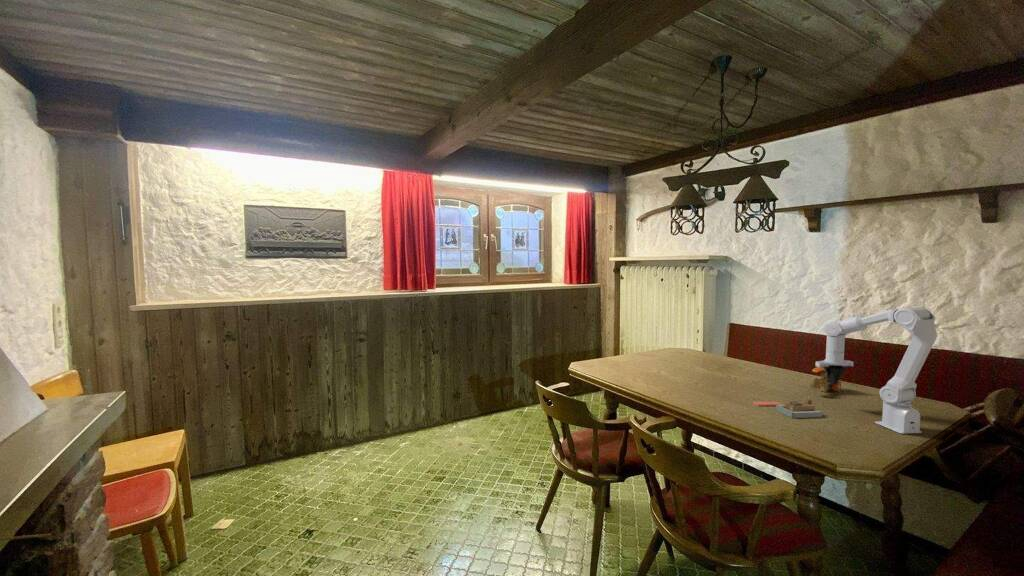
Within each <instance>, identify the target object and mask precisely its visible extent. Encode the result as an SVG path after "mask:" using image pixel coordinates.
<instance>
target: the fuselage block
mask: <svg viewBox="0 0 1024 576" xmlns="http://www.w3.org/2000/svg"><path fill="white" fill-rule="evenodd" d="M784 405H785V408H786V409H788V410H790V411H792V412H800V411H816V410H815V409H816V408H815V407H816V406H815V405H814V404H812V399H806V401H789V402H785V403H784Z"/></svg>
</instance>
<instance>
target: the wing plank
mask: <svg viewBox="0 0 1024 576" xmlns="http://www.w3.org/2000/svg"><path fill="white" fill-rule="evenodd" d="M752 403H753V405H755V404H756V405H755V406H757V407H776V405H783V404H782V403H781V402H778V401H752Z"/></svg>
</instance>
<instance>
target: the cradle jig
mask: <svg viewBox="0 0 1024 576" xmlns="http://www.w3.org/2000/svg"><path fill="white" fill-rule="evenodd" d="M775 410H776V411H778V412H779V413H781V414H783V415H785V416H787V417H788V416H789V417H788V418H790V417H791V419H803V418H804V419H806V418H807V419H808V418H822V417H823V412H822V411H821V410H815V411H800V412H792V411H790V410H788V409H786V408H785V404H782V405H776V406H775Z"/></svg>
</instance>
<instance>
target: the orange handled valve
mask: <svg viewBox="0 0 1024 576" xmlns="http://www.w3.org/2000/svg"><path fill="white" fill-rule="evenodd" d="M811 372H814V373H819V372H820V374H819V376H816V377H814V376H812V377H811V378H810V379H809V387H811V388H812V389H816V390H817V389H820V392H822V391H823V392H824V393H826V392H827V391H828V390H830V389H832V390H833V391H834V392H837V393H839V392H840V391H841V388H842V383H841V381H840V380H838V383H837V384H831V383H830V381H829V377H828V374H827V372H826V370H825V369H824V367H817V366H815V367H814V368H812V370H811ZM818 387H819V388H818Z"/></svg>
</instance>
